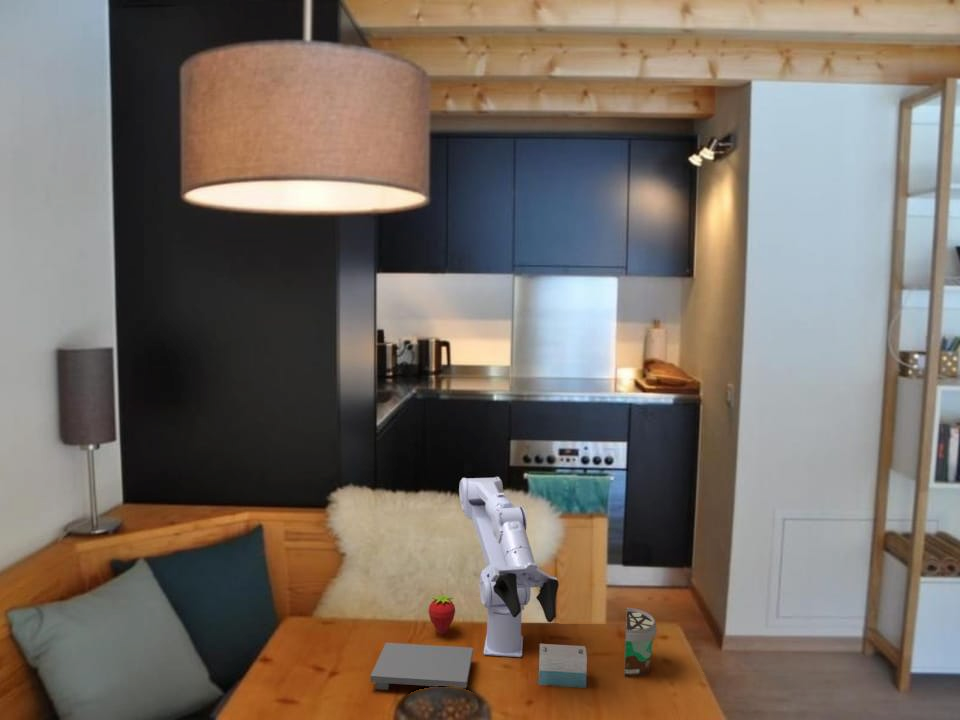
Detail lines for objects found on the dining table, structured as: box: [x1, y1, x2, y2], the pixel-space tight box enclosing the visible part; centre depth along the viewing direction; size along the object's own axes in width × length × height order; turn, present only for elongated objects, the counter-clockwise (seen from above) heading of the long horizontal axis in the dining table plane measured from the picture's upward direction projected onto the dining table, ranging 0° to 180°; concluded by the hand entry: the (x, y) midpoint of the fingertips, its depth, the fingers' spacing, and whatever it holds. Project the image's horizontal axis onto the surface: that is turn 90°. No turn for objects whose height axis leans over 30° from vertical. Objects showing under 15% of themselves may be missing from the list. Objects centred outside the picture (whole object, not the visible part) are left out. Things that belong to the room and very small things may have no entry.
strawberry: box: [428, 589, 456, 636], centre depth 163 cm, size 6×8×10 cm
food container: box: [623, 607, 658, 678], centre depth 150 cm, size 12×6×10 cm, turn 168°
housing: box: [538, 643, 588, 689], centre depth 144 cm, size 5×9×6 cm, turn 86°
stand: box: [369, 642, 474, 691], centre depth 145 cm, size 14×18×3 cm
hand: (534, 616), depth 137 cm, fingers open, 7 cm apart
